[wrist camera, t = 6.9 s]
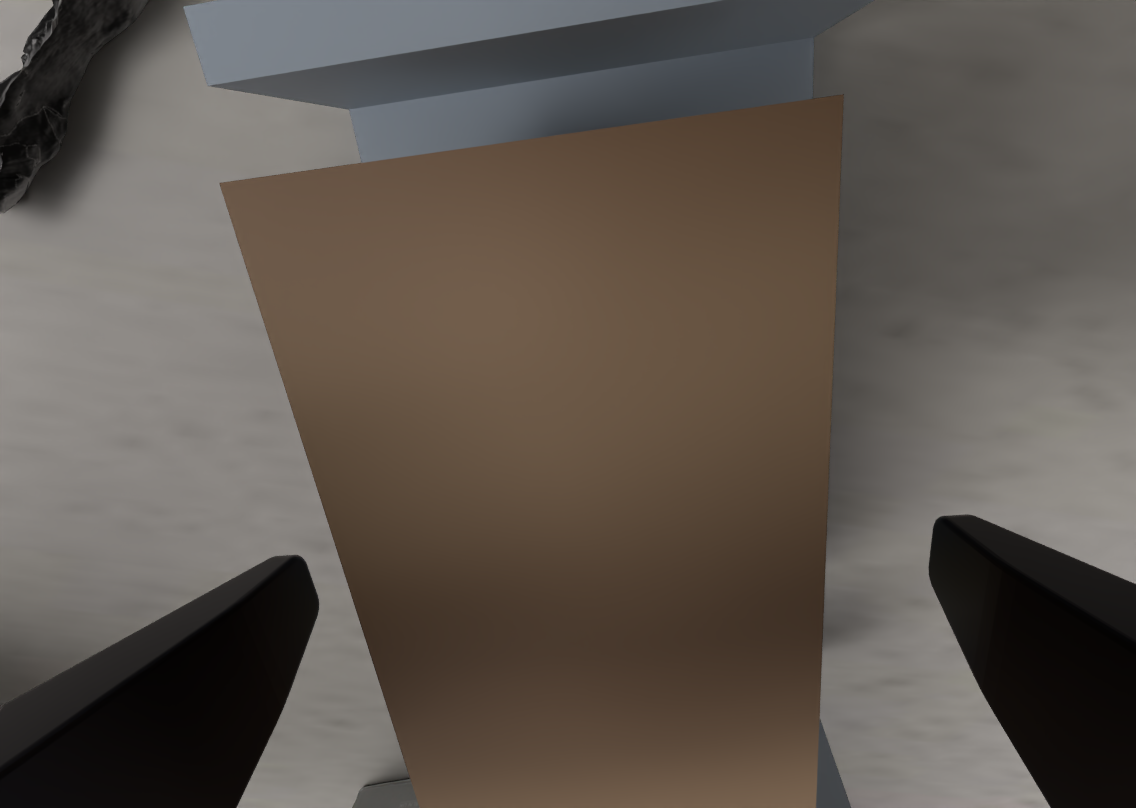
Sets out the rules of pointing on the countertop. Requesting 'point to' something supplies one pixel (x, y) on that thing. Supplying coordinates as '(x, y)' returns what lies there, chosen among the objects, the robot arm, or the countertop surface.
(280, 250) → the brown rectangular block
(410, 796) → the skincare box
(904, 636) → the countertop surface
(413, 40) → the peg stand
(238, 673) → the robot arm
